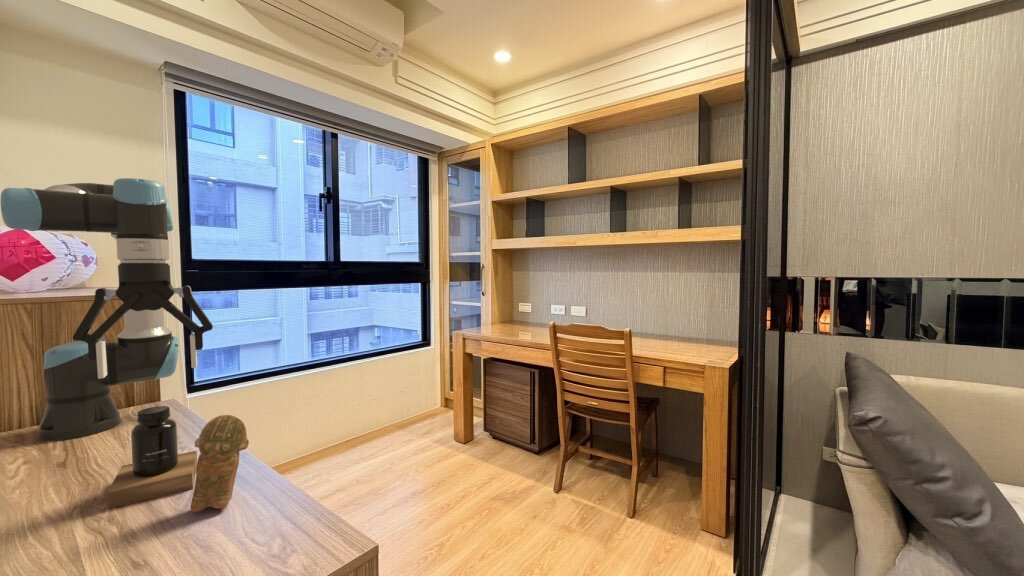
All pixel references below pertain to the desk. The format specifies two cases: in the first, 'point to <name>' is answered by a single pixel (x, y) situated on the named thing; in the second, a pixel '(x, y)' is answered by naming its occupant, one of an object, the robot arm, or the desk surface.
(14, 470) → the desk surface
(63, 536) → the desk surface
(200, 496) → the figurine
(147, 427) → the supplement bottle
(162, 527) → the desk surface
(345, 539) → the desk surface
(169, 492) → the pedestal
